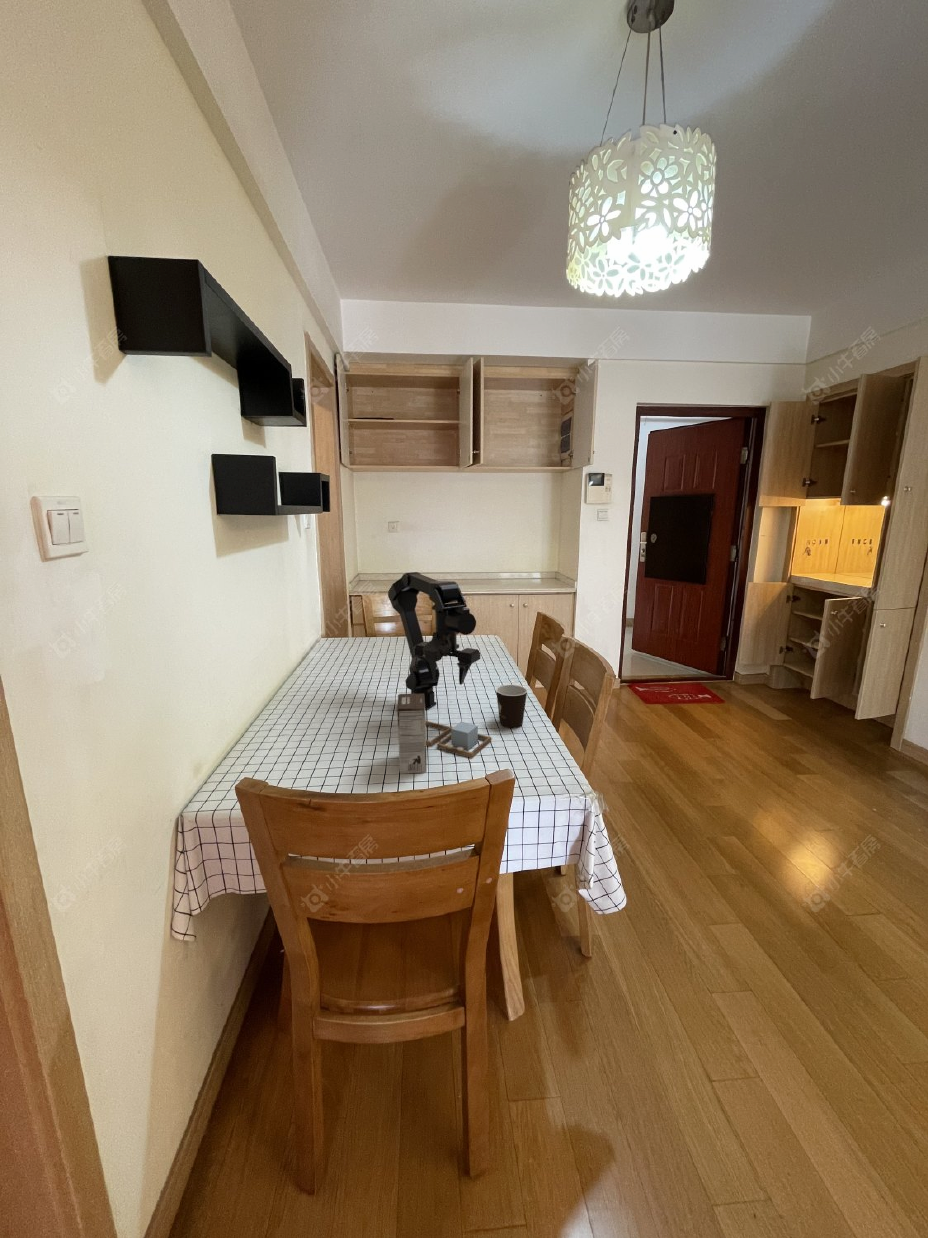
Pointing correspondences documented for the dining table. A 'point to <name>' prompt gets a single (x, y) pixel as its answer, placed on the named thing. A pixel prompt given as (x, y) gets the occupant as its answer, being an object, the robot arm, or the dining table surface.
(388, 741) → the dining table surface
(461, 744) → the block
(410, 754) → the coffee box
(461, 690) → the dining table surface
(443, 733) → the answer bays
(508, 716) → the coffee mug
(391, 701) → the dining table surface
